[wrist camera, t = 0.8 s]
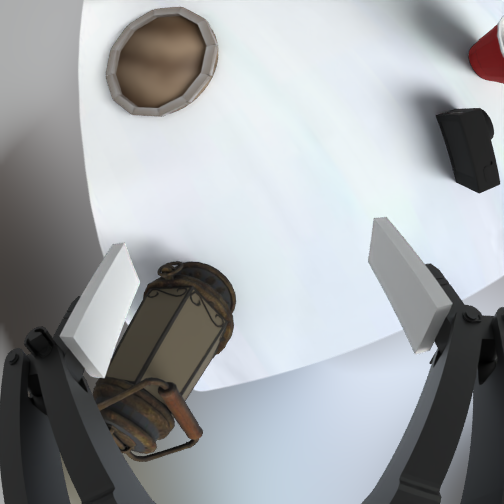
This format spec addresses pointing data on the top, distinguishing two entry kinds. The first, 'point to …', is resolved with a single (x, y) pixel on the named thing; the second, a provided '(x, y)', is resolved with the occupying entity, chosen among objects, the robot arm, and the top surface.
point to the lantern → (165, 357)
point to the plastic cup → (489, 54)
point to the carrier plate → (162, 62)
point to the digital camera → (470, 147)
